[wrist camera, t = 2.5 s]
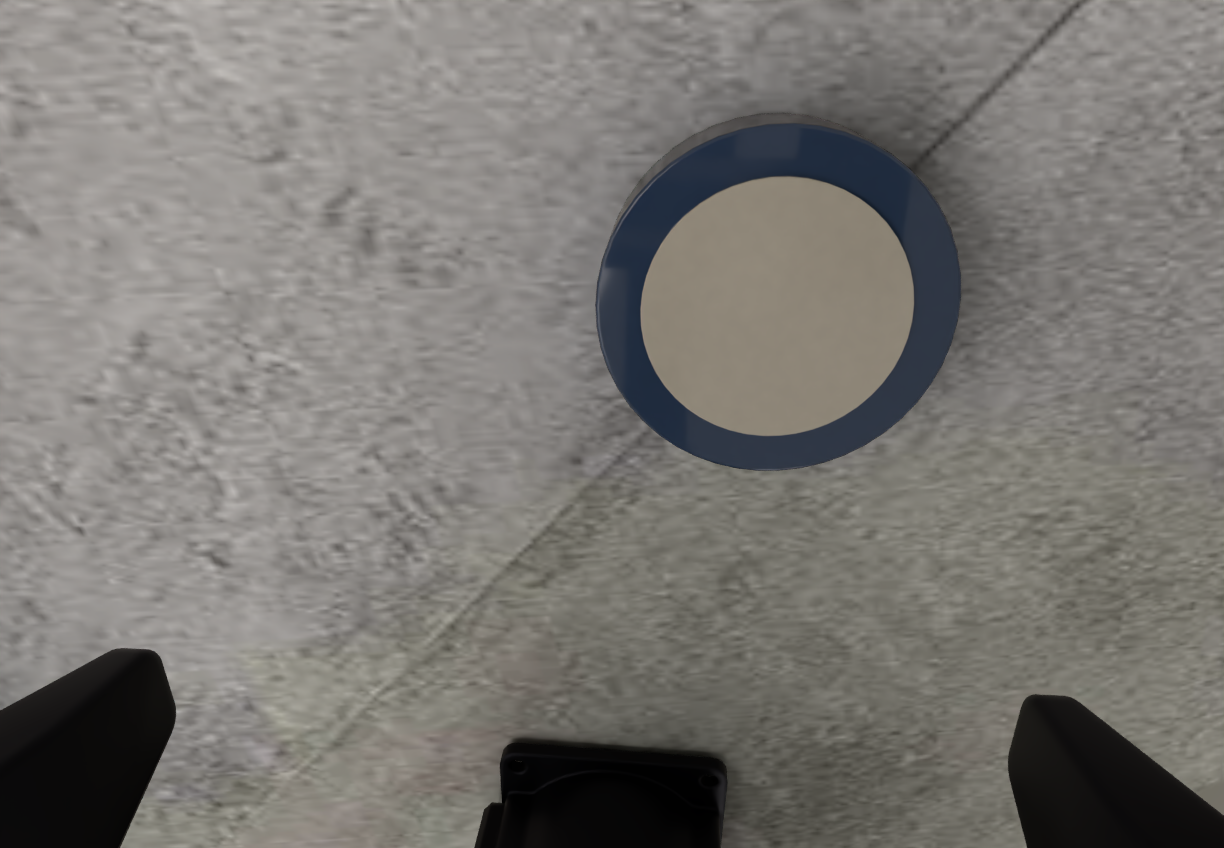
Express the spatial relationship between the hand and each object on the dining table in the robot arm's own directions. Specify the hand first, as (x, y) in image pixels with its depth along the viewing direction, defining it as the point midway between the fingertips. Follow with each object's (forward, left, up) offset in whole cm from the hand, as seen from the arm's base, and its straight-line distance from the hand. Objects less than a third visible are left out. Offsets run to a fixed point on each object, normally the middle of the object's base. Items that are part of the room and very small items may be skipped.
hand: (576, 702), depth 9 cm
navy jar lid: (-3, -1, -11) cm, 12 cm away
